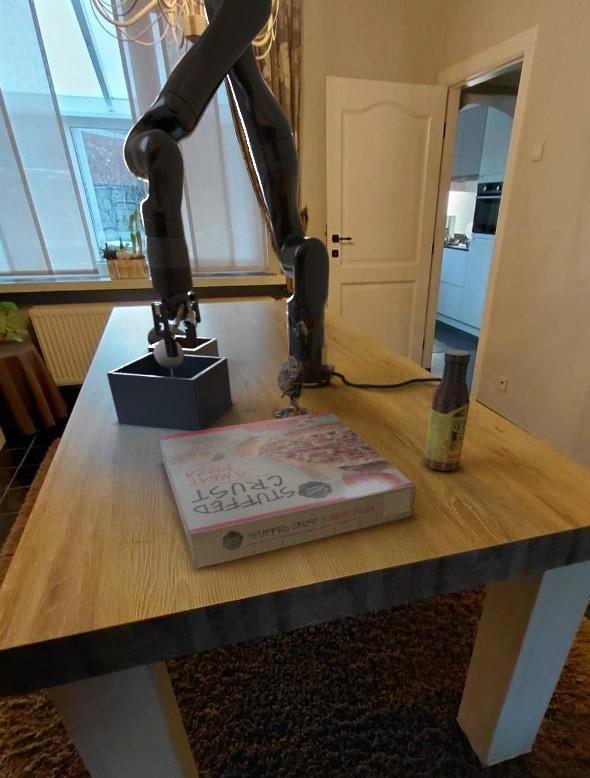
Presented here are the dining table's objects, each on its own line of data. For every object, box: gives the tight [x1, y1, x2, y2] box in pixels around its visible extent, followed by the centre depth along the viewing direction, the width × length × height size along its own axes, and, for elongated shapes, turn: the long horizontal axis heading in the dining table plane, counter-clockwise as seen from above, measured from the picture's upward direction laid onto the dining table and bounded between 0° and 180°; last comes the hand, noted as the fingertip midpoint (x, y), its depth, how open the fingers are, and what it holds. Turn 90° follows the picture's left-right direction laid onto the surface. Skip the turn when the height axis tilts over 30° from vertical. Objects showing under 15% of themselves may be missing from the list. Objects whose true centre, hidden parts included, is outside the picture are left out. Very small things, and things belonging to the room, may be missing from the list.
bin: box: [106, 352, 233, 432], centre depth 106 cm, size 19×17×11 cm
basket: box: [147, 336, 220, 357], centre depth 136 cm, size 14×14×7 cm
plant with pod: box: [273, 321, 312, 418], centre depth 103 cm, size 8×11×20 cm
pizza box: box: [158, 410, 417, 569], centre depth 79 cm, size 32×5×32 cm
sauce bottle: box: [424, 349, 471, 472], centre depth 83 cm, size 6×6×20 cm
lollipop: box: [154, 340, 184, 377], centre depth 105 cm, size 6×6×15 cm
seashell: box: [147, 324, 186, 346], centre depth 157 cm, size 14×19×8 cm
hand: (183, 351), depth 101 cm, fingers open, 8 cm apart
